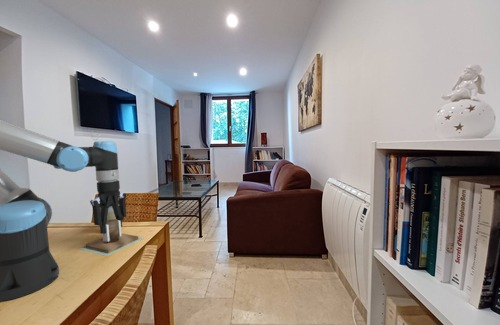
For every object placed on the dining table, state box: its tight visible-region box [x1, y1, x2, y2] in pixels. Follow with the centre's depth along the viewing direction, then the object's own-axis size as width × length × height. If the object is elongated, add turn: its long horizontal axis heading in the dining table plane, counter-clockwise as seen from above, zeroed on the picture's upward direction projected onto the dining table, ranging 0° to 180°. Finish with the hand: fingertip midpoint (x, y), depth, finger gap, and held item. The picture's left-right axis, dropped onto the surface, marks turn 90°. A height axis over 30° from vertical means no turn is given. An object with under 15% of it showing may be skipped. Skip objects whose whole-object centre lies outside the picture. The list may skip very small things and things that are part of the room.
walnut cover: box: [84, 219, 139, 254], centre depth 90 cm, size 13×13×9 cm
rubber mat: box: [79, 236, 145, 257], centre depth 90 cm, size 16×16×1 cm
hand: (112, 238), depth 90 cm, fingers closed on walnut cover, 4 cm apart
